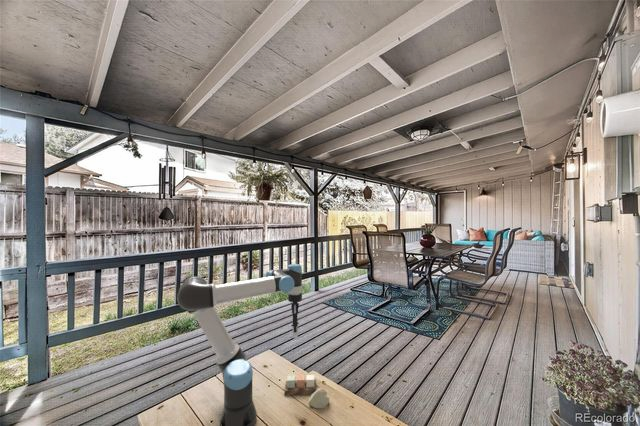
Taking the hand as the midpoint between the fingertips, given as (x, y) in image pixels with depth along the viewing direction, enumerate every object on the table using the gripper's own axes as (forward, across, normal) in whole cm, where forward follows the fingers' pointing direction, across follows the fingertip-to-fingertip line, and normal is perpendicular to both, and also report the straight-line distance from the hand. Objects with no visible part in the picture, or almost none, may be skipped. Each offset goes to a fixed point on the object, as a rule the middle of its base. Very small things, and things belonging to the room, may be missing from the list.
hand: (295, 337), depth 131 cm
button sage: (+22, -5, +2) cm, 22 cm away
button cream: (+22, -6, -8) cm, 24 cm away
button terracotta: (+22, -5, -3) cm, 23 cm away
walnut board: (+24, -5, -3) cm, 25 cm away
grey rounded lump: (+24, -16, -12) cm, 31 cm away
